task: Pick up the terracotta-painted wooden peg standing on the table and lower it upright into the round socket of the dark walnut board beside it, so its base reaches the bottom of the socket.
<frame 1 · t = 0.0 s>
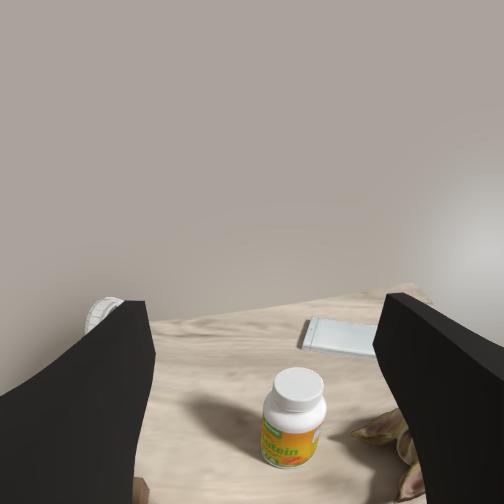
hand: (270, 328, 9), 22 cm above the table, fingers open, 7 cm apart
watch: (124, 378, 35), on the table
supplement bottle: (287, 450, 26), on the table
ceramic sculpture: (422, 452, 23), on the table
hard drive: (346, 344, 44), on the table
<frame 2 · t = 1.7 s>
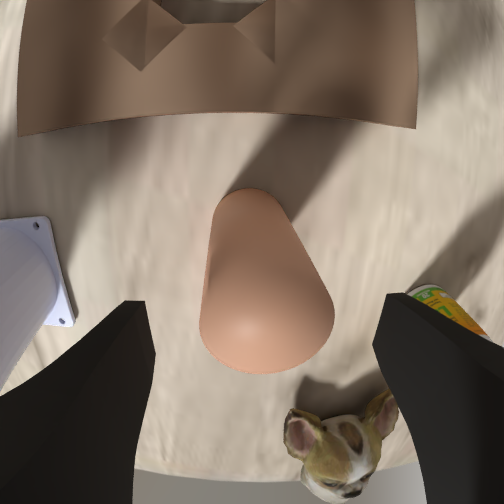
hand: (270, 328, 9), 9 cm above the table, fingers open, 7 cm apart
supplement bottle: (416, 311, 21), on the table
ceramic sculpture: (332, 424, 27), on the table
peg: (248, 223, 17), on the table
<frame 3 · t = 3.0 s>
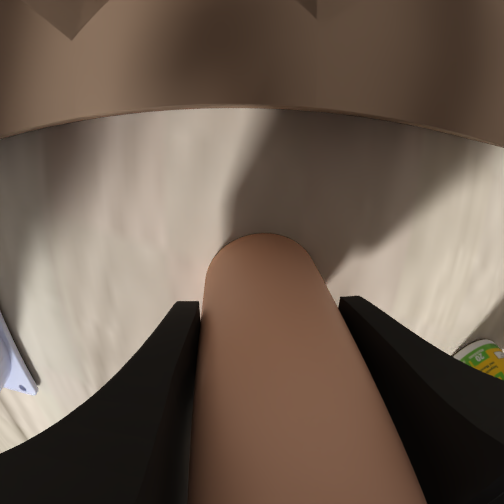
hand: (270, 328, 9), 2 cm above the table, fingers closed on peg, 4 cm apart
supplement bottle: (461, 368, 15), on the table
peg: (261, 285, 11), on the table, touching gripper
when the fingers open (4 cm above the table, at t = 8.7 s): peg drops 2 cm, on the table.
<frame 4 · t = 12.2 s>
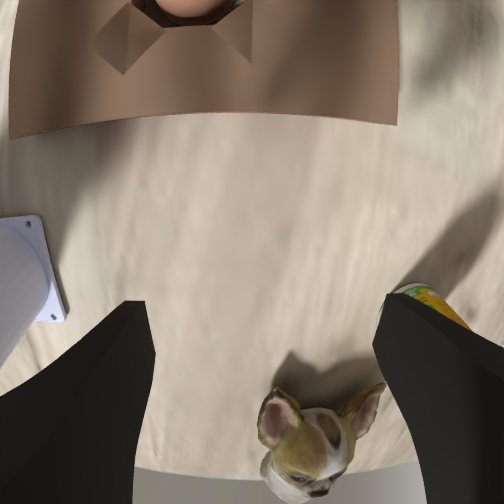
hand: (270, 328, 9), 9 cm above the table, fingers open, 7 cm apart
supplement bottle: (404, 310, 21), on the table
ceramic sculpture: (303, 418, 26), on the table
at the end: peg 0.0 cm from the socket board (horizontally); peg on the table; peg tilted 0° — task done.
